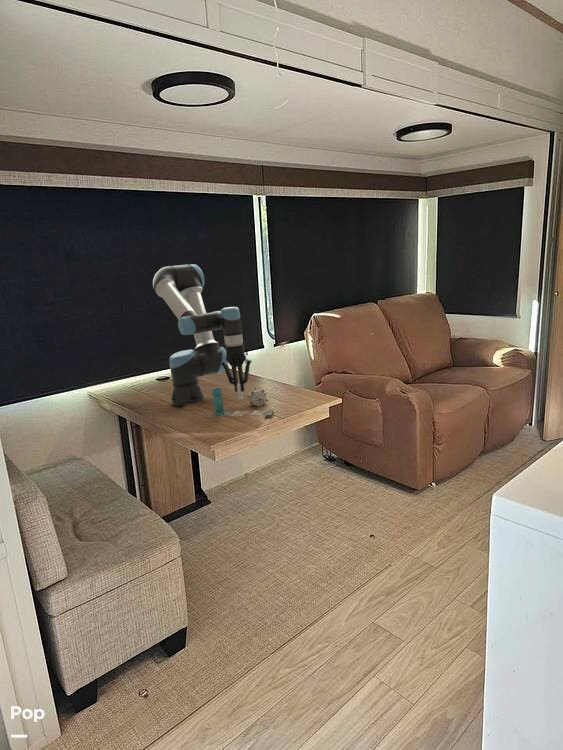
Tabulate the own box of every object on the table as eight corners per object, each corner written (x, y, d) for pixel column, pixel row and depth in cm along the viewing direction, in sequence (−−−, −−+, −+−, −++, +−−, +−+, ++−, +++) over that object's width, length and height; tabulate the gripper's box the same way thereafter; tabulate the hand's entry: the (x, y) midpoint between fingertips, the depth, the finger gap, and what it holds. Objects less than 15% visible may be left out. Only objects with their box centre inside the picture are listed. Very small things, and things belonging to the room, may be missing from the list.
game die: (257, 417, 212) (245, 403, 206) (253, 405, 219) (240, 391, 213) (275, 405, 212) (263, 391, 206) (269, 394, 218) (257, 379, 212)
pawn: (213, 415, 203) (209, 388, 201) (216, 412, 207) (212, 385, 205) (223, 415, 203) (219, 388, 200) (226, 412, 207) (222, 385, 204)
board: (213, 419, 203) (212, 416, 203) (217, 414, 209) (217, 411, 208) (271, 417, 199) (270, 414, 198) (273, 412, 204) (273, 409, 204)
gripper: (216, 347, 205) (223, 402, 211) (247, 345, 203) (253, 401, 208) (221, 343, 213) (228, 397, 218) (251, 342, 210) (257, 395, 216)
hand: (240, 398), depth 213 cm, fingers closed
